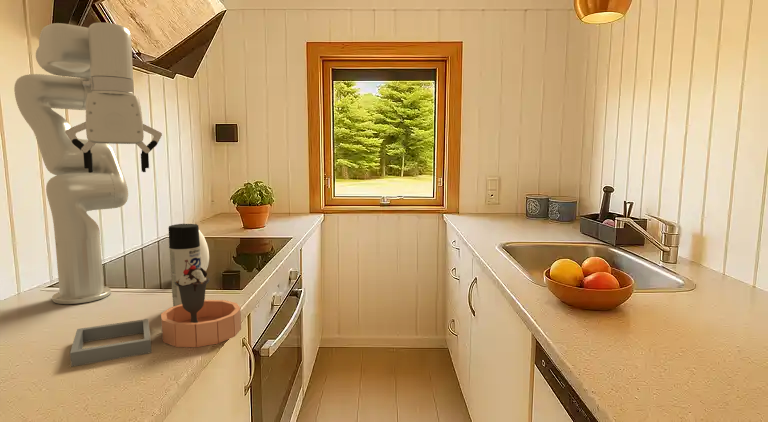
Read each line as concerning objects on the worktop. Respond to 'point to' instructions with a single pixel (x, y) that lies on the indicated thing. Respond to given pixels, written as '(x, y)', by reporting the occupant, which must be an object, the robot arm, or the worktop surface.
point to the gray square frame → (112, 350)
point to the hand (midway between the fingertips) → (117, 172)
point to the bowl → (201, 324)
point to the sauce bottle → (203, 251)
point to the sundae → (192, 290)
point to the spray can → (183, 253)
